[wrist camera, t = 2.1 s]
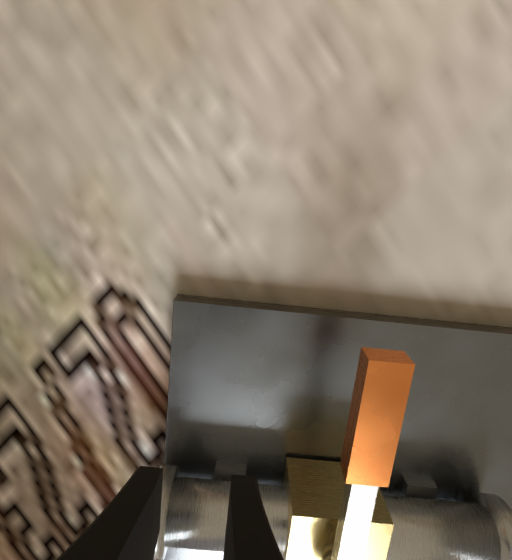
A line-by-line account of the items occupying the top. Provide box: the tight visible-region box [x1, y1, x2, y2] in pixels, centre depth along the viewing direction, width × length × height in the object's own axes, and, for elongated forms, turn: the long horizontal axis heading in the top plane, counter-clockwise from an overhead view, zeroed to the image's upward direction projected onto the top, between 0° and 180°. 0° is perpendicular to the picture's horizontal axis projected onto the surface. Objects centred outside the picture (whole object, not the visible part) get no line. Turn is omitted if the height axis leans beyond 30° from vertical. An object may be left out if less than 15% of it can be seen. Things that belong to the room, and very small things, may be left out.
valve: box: [153, 294, 512, 560], centre depth 21 cm, size 21×18×6 cm
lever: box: [328, 347, 415, 560], centre depth 16 cm, size 12×2×1 cm, turn 174°
